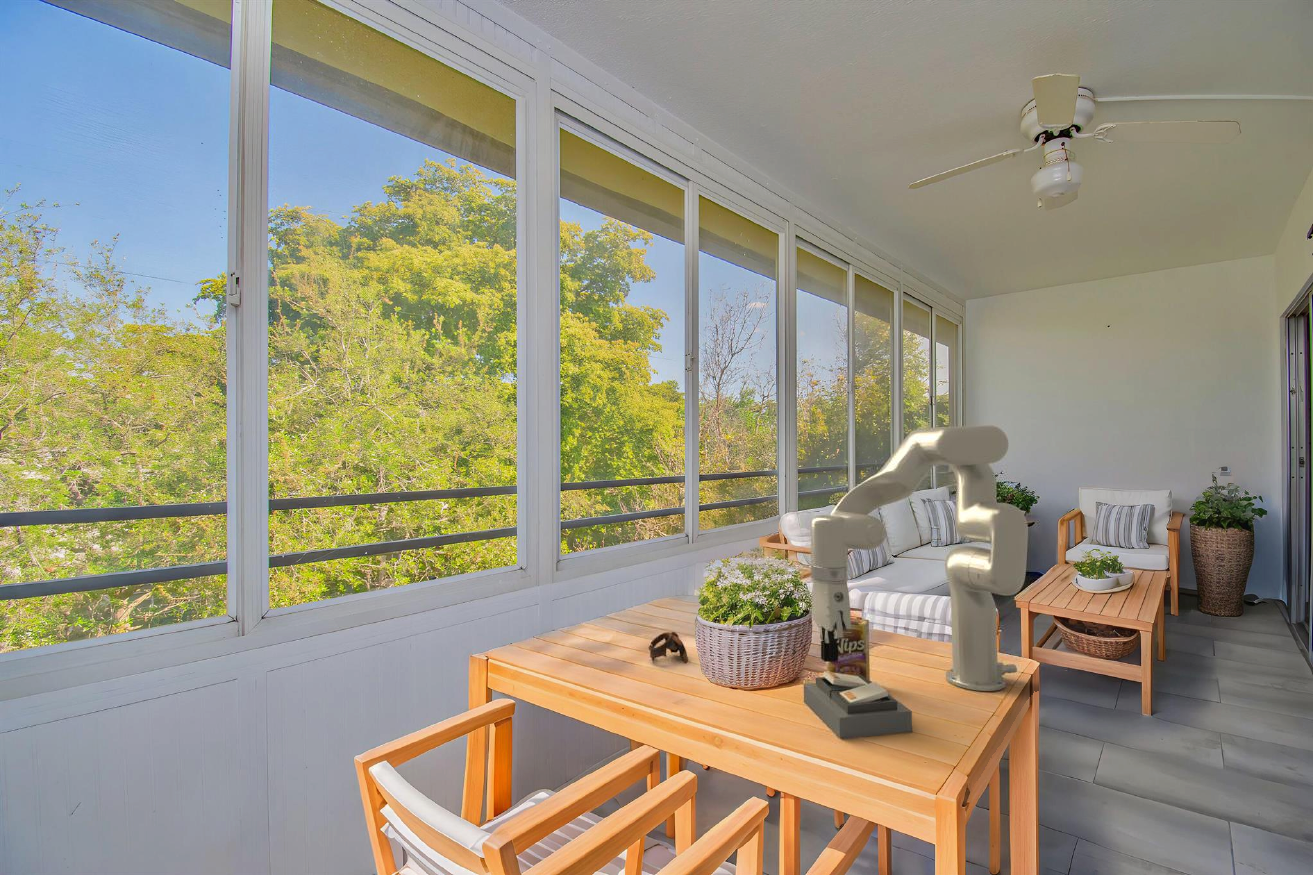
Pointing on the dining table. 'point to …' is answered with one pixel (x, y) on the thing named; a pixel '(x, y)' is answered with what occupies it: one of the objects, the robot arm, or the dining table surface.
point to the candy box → (853, 650)
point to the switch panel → (856, 711)
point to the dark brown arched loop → (667, 646)
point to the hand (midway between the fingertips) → (829, 660)
